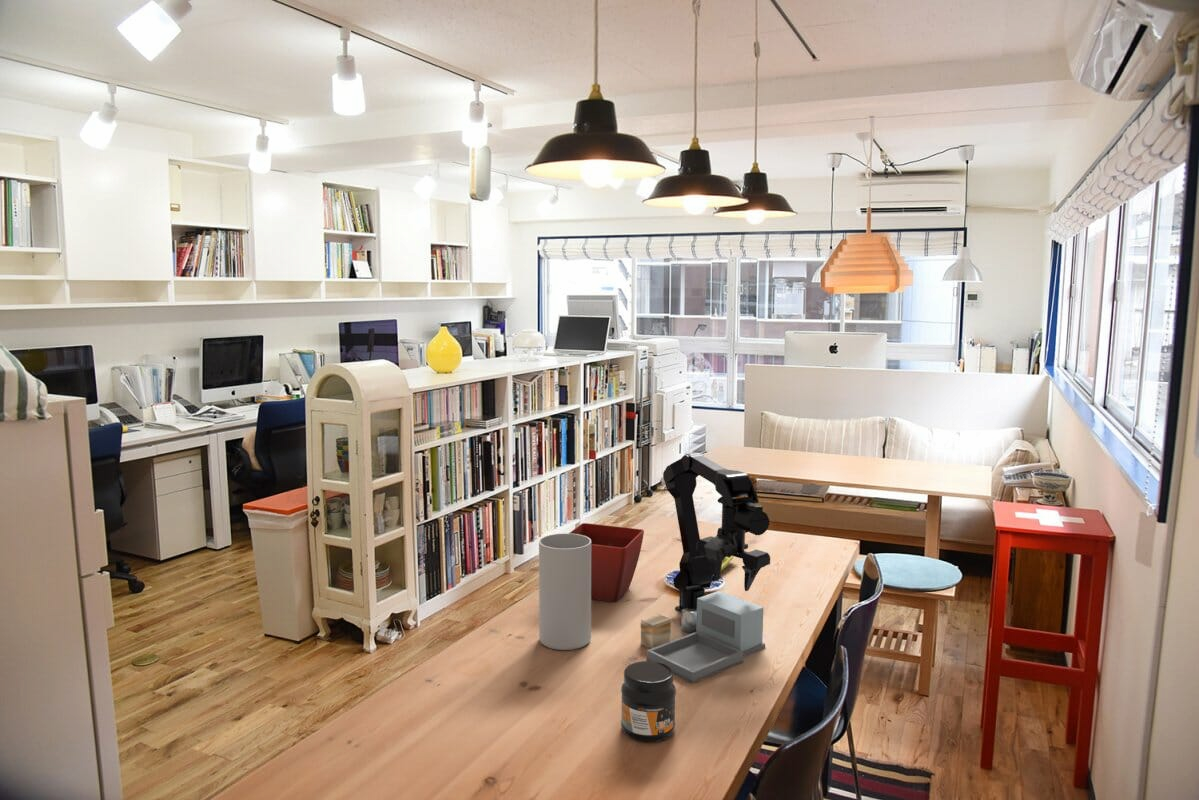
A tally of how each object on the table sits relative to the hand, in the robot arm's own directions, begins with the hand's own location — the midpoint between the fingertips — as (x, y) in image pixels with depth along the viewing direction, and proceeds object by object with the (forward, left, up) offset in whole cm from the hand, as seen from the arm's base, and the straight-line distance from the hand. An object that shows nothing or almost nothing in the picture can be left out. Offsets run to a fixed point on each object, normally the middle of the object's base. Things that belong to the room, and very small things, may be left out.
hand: (731, 585), depth 206 cm
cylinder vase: (-23, -34, -13) cm, 43 cm away
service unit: (+3, -4, -13) cm, 14 cm away
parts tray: (+5, -18, -13) cm, 22 cm away
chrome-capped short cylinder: (-8, -6, -13) cm, 16 cm away
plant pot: (-42, -6, -13) cm, 44 cm away
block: (-8, -18, -13) cm, 23 cm away
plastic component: (-37, +34, -13) cm, 52 cm away
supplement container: (+20, -47, -13) cm, 52 cm away
